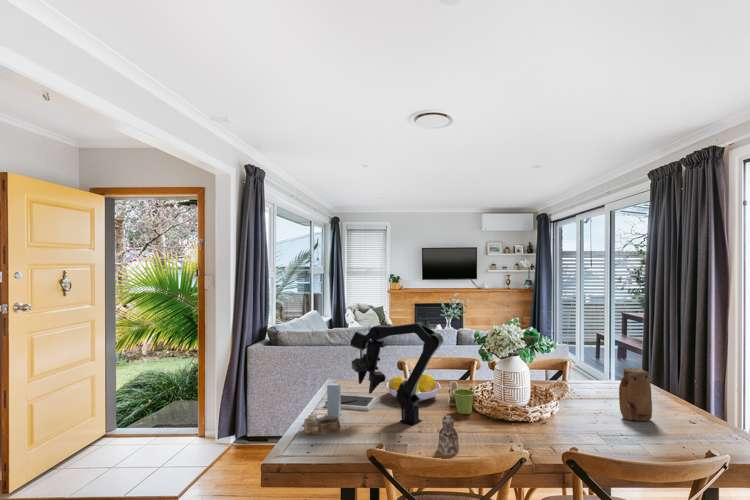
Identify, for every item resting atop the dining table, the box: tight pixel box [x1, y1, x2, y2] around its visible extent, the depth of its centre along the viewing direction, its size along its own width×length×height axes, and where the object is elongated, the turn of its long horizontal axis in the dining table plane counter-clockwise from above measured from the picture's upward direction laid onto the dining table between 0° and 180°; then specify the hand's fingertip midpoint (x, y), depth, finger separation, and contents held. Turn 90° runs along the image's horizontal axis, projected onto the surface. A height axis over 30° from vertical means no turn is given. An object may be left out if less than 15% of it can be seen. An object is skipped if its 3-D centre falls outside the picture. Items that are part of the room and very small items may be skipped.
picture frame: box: [324, 393, 379, 412], centre depth 192 cm, size 16×3×21 cm
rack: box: [303, 417, 341, 437], centre depth 160 cm, size 13×6×4 cm, turn 103°
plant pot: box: [452, 388, 476, 415], centre depth 179 cm, size 9×9×9 cm
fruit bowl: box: [386, 373, 442, 402], centre depth 199 cm, size 28×27×11 cm
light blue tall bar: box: [326, 382, 342, 419], centre depth 176 cm, size 5×3×14 cm, turn 78°
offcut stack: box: [303, 414, 318, 433], centre depth 160 cm, size 5×6×5 cm
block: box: [618, 367, 653, 422], centre depth 169 cm, size 11×8×20 cm
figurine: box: [437, 412, 460, 456], centre depth 142 cm, size 7×7×12 cm
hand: (364, 388), depth 178 cm, fingers open, 9 cm apart
